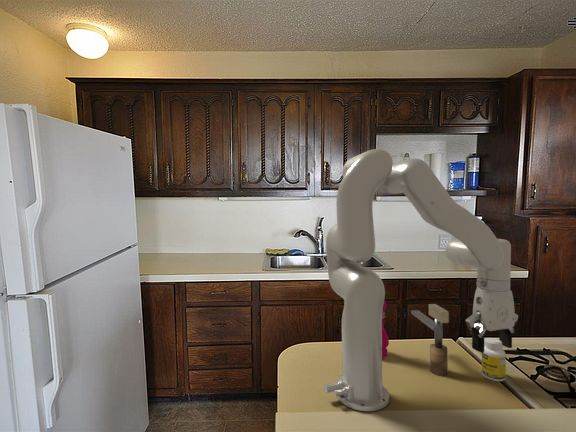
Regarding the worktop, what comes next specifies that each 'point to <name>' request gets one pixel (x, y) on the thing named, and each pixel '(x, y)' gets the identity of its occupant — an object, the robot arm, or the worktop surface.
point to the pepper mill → (384, 335)
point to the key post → (438, 360)
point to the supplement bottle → (493, 360)
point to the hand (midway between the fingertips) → (491, 348)
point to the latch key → (436, 325)
